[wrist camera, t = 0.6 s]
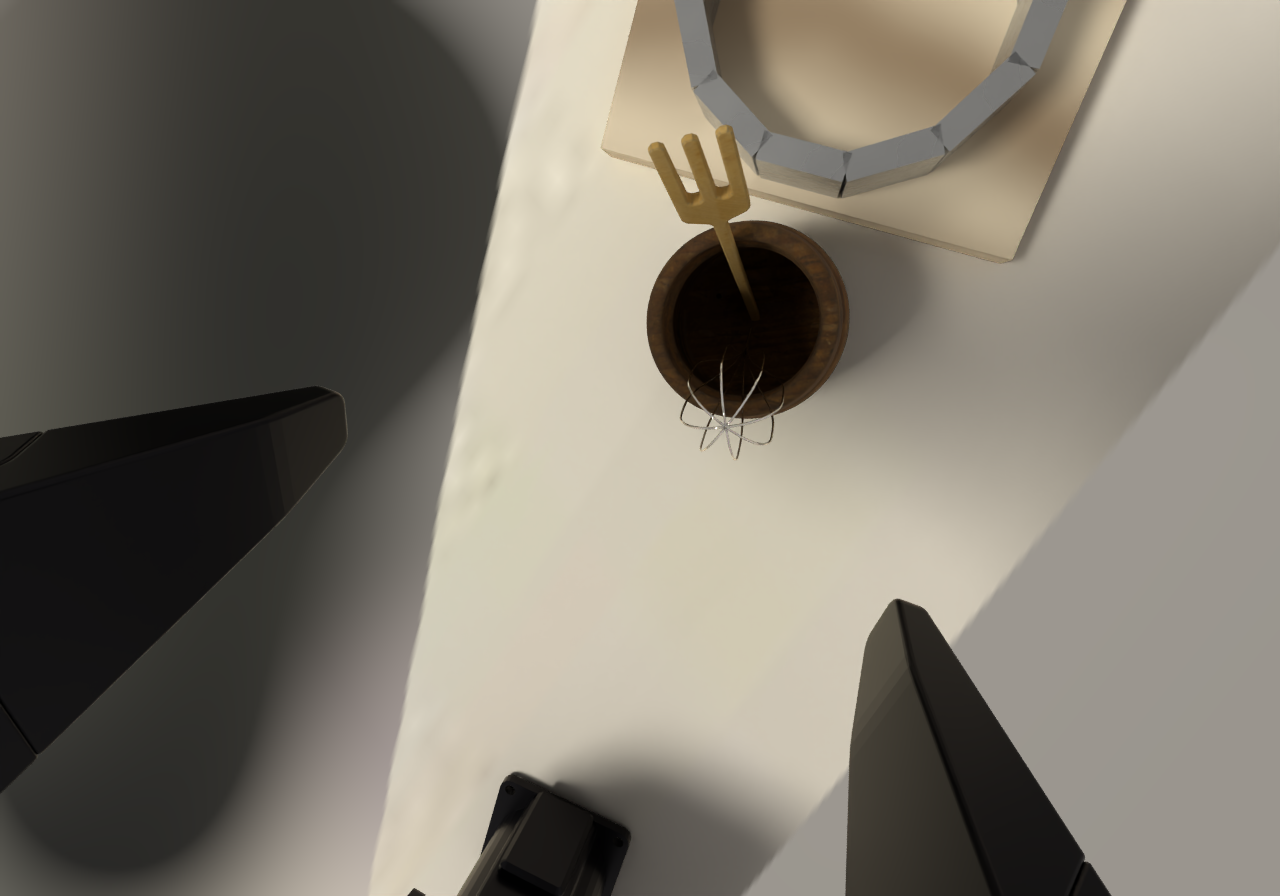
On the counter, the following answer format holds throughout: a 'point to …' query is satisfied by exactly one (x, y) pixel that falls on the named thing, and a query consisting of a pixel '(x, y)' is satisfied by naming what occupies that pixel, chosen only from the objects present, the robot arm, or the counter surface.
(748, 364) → the utensil holder
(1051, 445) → the counter surface
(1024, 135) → the wooden stand with ring
